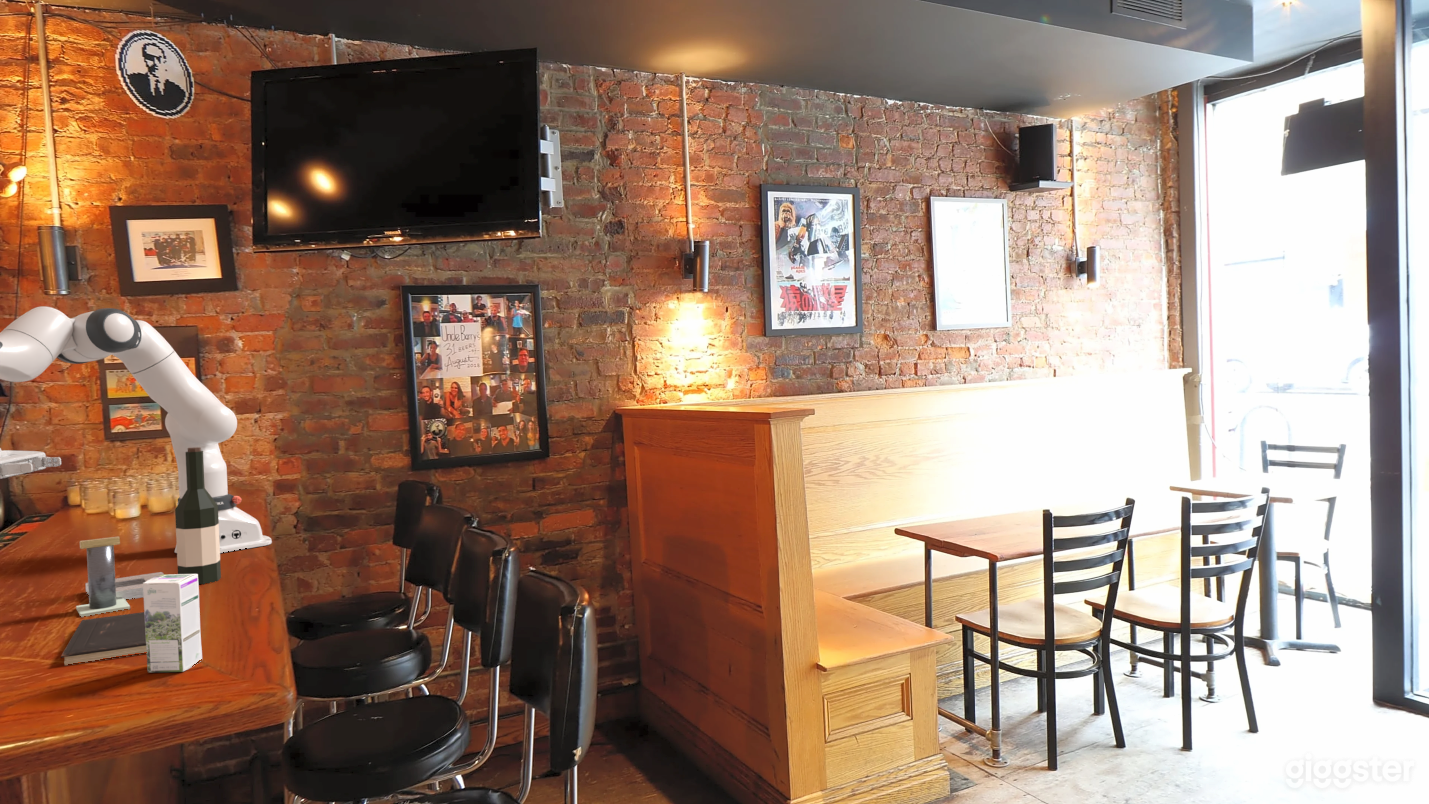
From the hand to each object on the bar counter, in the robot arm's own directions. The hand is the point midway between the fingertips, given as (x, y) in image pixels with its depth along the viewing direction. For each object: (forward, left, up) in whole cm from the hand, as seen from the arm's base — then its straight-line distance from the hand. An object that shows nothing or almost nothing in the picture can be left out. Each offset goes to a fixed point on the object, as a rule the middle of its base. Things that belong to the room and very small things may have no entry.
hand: (46, 464), depth 175 cm
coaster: (-7, +10, -29) cm, 31 cm away
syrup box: (-11, +60, -29) cm, 68 cm away
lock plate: (-13, -2, -29) cm, 32 cm away
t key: (-7, +10, -28) cm, 31 cm away
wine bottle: (-26, -2, -29) cm, 39 cm away
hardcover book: (-8, +37, -30) cm, 48 cm away
